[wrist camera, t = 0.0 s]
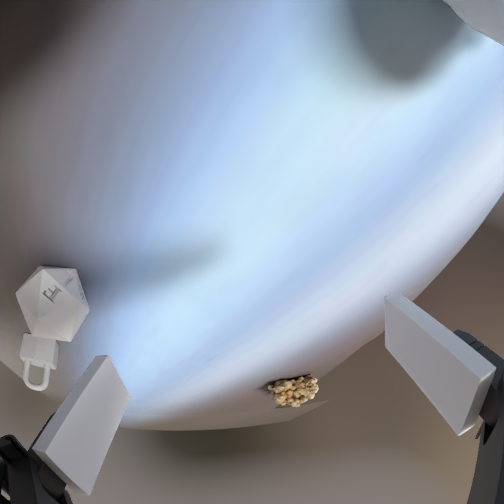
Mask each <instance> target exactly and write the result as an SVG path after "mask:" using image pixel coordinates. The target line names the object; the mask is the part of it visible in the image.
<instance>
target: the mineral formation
mask: <svg viewBox="0 0 504 504" xmlns="http://www.w3.org/2000/svg"><path fill="white" fill-rule="evenodd" d="M316 382H317V379H316V378H313V376H312V375H306V376H305V378H303V377H299V378H298V380H290V381H287V380H283V381H282V380H281V381H276V383H275V384H274V385H269V386H268V389H269V390H271V394H272V395H273V394H274V396H273V400H274V401H275V402H276V403H278V404H281V405H282V406H283V405H286V404H289V405H292V406H293V407H298V406H300V404H301V403H303V402H306V401H307V400H308V399H312V398H314V394H315V393H317V391H318V390H319V389H318V385H316V384H315V383H316Z"/></svg>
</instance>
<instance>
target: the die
mask: <svg viewBox="0 0 504 504" xmlns="http://www.w3.org/2000/svg"><path fill="white" fill-rule="evenodd" d="M15 294H16V297H17V299H18V302H19V305H20V307H21V310H22V313H23V315H24V318H25V320H26V322H27V325H28V327H29V329H30V332H31V334H32V336H36V337H41V338H48V339H54V340H61V341H68V342H71V340H72V338H73V337H74V335H75V333H76V332H77V330H78V329H79V327H80V325H81V324H82V322H83V321H84V319H85V317H86V316H87V314H88V313H89V311H90V308H89V305H88V303H87V300H86V297H85V294H84V291H83V288H82V285H81V282H80V279H79V276H78V273H77V270H76V269H73V268H61V267H50V266H39V267H38V268H37V269H36V270H35V271H34V272H33V273H32V275H31V276H30V277H29V278H28V279H27V280H26V281H25V282H24V284H23V285H22V286H21V287H20V288H19V289H18V291H17V292H16V293H15Z"/></svg>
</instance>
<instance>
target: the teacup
mask: <svg viewBox="0 0 504 504" xmlns="http://www.w3.org/2000/svg"><path fill="white" fill-rule="evenodd" d="M443 1H444V2H445V3H446V4H448V5H449V6H450V7H451V8H452V9H453V10H454V12H455V13H456V14H457V15H458V16H459V17H460V18H461V19H462V20H463V21H464V22H466V23H467V24H468V25H469V26H471V27H472V28H474V29H475V30H477V31H479V32H480V33H482V34H484V35H485V36H487V37H489V38H491V39H493V40H495V41H496V42H498V43H500V44H502V45H503V46H504V0H443Z"/></svg>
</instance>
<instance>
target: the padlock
mask: <svg viewBox="0 0 504 504" xmlns="http://www.w3.org/2000/svg"><path fill="white" fill-rule="evenodd" d="M58 352H59V345H58V343H57V341H56V340H54V339H48V338H41V337H36V336H32V334H27V333H24V334H23V339H22V345H21V350H20V355H19V356H20V358H21V359H22V360H23V361H24V362H25V366H24V373H23V379H24V382H25V384H26V385H27V386H28V387H29V388H31V389H33V390H37V391H40V390H44V389H45V388H46V387H47V386H48V383H49V375H50V369H54V370H55V369H56V366H57V360H58ZM30 364H32V365H35V366H39V367H43V368H44V376H43V381H42V383H41V384H33V383H31V382H30V381H29V370H30Z"/></svg>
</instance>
